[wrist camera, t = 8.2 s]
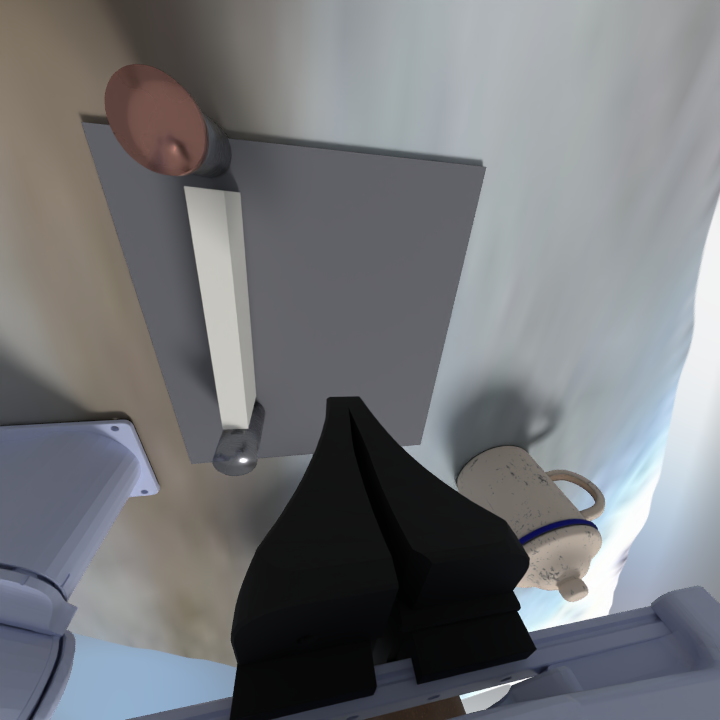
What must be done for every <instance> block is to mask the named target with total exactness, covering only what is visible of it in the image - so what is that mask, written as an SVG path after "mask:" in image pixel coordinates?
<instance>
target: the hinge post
mask: <svg viewBox="0 0 720 720" xmlns="http://www.w3.org/2000/svg"><path fill="white" fill-rule="evenodd" d="M264 419H265V409H264V407H263V406H262V405H261V404H260V403H258V402H256V401H255V403H254V407H253V411H252V415H251V419H250V423H249V427H248V429H223V431H222V434H221V437H220V439H219V442H218V445H217V448H216V451H215V454H214V457H213V461H212V462H213V466H214V467H215V468H216V469H217V470H218V471H219V472H221V473H223V474H226V475H230V476H239V475H244V474H247V473H249V472H251V471H252V470H253V469H254V468H255V466H256V464H257V459H258V453H259V448H260V442H261V436H262V431H263V425H264Z"/></svg>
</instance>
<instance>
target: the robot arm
mask: <svg viewBox="0 0 720 720" xmlns="http://www.w3.org/2000/svg"><path fill="white" fill-rule="evenodd" d="M115 426H116V427H115ZM117 427H118V428H117ZM159 489H160V487H159V484H158V482H157V480H156V477H155V475H154V473H153V470H152V468H151V466H150V463H149V461H148V459H147V456H146V454H145V451H144V449H143V447H142V444H141V442H140V440H139V437H138V435H137V433H136V430H135V428H134V426H133V424H132V422H130V421H128V420H107V421H89V422H71V423H53V424H35V425H17V426H0V720H50V719H51V717H52V715H53V713H54V712H55V710H56V708H57V706H58V704H59V702H60V699H61V697H62V695H63V693H64V690H65V688H66V685H67V682H68V680H69V677H70V673H71V670H72V665H73V658H74V653H75V637H74V635H73V634H72V633H71V632H70V631H68V630H66V629H67V627H68V625H69V624H70V622H71V620H72V618H73V616H74V614H75V613H76V611H77V609H78V608H77V607H76V606H74V605H71V604H69V603H67V602H68V600H69V598H70V596H71V595H72V593H73V591H74V590H75V588H76V586H77V585H78V583H79V581H80V579H81V578H82V576H83V574H84V573H85V571H86V569H87V567H88V566H89V564H90V562H91V561H92V559H93V557H94V556H95V554H96V552H97V550H98V549H99V547H100V545H101V544H102V542H103V540H104V538H105V537H106V535H107V533H108V532H109V530H110V528H111V526H112V525H113V523H114V521H115V520H116V518H117V516H118V515H119V513H120V511H121V509H122V508H123V506H124V504H125V503H126V501H127V499H128V497H135V496H145V495H154V494H156V493H158V491H159ZM529 564H530V557H529V556H528V554H527V553H526V551H525V549H524V548H523V546H522V544H521V543H520V541H519V539H518V538H517V536H516V534H515V533H514V532H513V530H512V529H511V527H510V526H509V524H508V523H507V522H506V520H504V519H502V518H501V517H499V516H497V515H495V514H494V513H492V512H490V511H488V510H487V509H485V508H483V507H481V506H479V505H478V504H476V503H474V502H473V501H471V500H469V499H468V498H466V497H465V496H463V495H462V494H460V493H459V492H457V491H455V490H454V489H452V488H451V487H450V486H448V485H447V484H445V483H444V482H443V481H441V480H440V479H439V478H437V477H436V476H435V475H433V474H432V473H431V472H429V471H428V470H427V469H425V468H424V467H423V466H422V465H421V464H419V463H418V462H417V461H416V460H415V459H414V458H413V457H412V456H410V455H409V454H408V453H407V452H406V451H405V450H404V449H403V448H402V447H401V446H400V445H399V444H398V443H397V442H396V441H395V440H394V439H393V437H392V436H391V435H390V434H389V433H388V432H387V431H386V430H385V428H384V427H383V426H382V425H381V424H380V423H379V421H378V420H377V419H376V418H375V416H374V415H373V414H372V412H371V411H370V410H369V408H368V407H367V406H366V404H365V403H364V402H363V400H362V399H361V398H360V397H359V396H347V397H329V398H327V399H326V417H325V422H324V425H323V429H322V433H321V436H320V439H319V441H318V444H317V447H316V450H315V452H314V454H313V457H312V459H311V461H310V464H309V466H308V468H307V470H306V472H305V474H304V476H303V478H302V480H301V482H300V484H299V486H298V487H297V489H296V491H295V493H294V494H293V496H292V498H291V499H290V501H289V503H288V504H287V506H286V507H285V509H284V511H283V512H282V514H281V515H280V517H279V518H278V520H277V521H276V523H275V524H274V526H273V527H272V529H271V530H270V531H269V533H268V534H267V535H266V537H265V538H264V540H263V541H262V542H261V544H260V545H259V547H258V548H257V550H256V552H255V554H254V557H253V559H252V561H251V564H250V566H249V568H248V571H247V573H246V576H245V578H244V581H243V583H242V586H241V589H240V592H239V595H238V599H237V603H236V607H235V612H234V618H233V625H232V631H231V643H232V647H233V650H234V653H235V657H236V660H237V671H236V678H235V685H234V691H233V697H228V698H224V699H219V700H215V701H210V702H206V703H201V704H197V705H191V706H187V707H183V708H178V709H173V710H168V711H164V712H159V713H155V714H151V715H145V716H141V717H136V718H132V719H127V720H364V719H368V718H372V717H376V716H379V715H383V714H387V713H391V712H395V711H399V710H403V709H407V708H411V707H415V706H419V705H423V704H427V703H431V702H435V701H439V700H443V699H447V698H450V697H454V696H458V695H462V694H466V693H470V692H474V691H478V690H482V689H486V688H490V687H494V686H498V685H502V684H506V683H510V682H514V681H517V680H521V679H525V678H529V677H531V678H529V679H527V680H524V681H522V682H519V683H517V684H514V685H512V686H511V688H510V690H509V692H508V693H507V694H506V695H505V696H504V697H503V698H502V699H501V700H500V701H498V702H496V703H495V704H493V705H492V706H491V707H489V708H487V709H486V710H482V711H477V712H473V713H469V714H465V715H462V716H458V717H454V718H450V719H447V720H720V604H719V602H717V601H716V600H715V599H714V598H713V597H712V596H711V595H710V594H709V593H708V592H707V591H706V590H705V589H704V588H703V587H701V586H694V587H689V588H684V589H679V590H674V591H671V592H668V593H666V594H664V595H662V596H660V597H659V598H657V599H656V600H655V601H654V602H653V603H651V606H649V607H644V608H639V609H635V610H630V611H625V612H621V613H616V614H612V615H607V616H602V617H598V618H593V619H588V620H584V621H579V622H575V623H570V624H565V625H561V626H556V627H552V628H547V629H542V630H538V631H533V632H528V631H527V629H526V627H525V625H524V623H523V621H522V619H521V617H520V616H519V614H518V612H517V611H519V610H520V609H521V607H520V603H519V601H518V599H517V597H516V596H515V594H514V592H513V590H514V588H515V587H516V586H517V585H518V583H519V582H520V581H521V579H522V578H523V577H524V575H525V574H526V572H527V570H528V568H529ZM533 676H534V677H533Z"/></svg>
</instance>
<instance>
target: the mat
mask: <svg viewBox="0 0 720 720" xmlns="http://www.w3.org/2000/svg"><path fill="white" fill-rule="evenodd" d="M81 123H82V126H83V129H84V132H85V135H86V138H87V141H88V144H89V147H90V150H91V154H92V157H93V160H94V163H95V166H96V169H97V172H98V175H99V178H100V182H101V185H102V188H103V191H104V194H105V197H106V200H107V203H108V206H109V209H110V213H111V216H112V219H113V222H114V225H115V228H116V231H117V234H118V237H119V241H120V244H121V247H122V250H123V253H124V256H125V259H126V262H127V265H128V268H129V272H130V275H131V278H132V281H133V284H134V287H135V290H136V293H137V296H138V300H139V303H140V306H141V309H142V312H143V315H144V318H145V321H146V324H147V328H148V331H149V334H150V337H151V340H152V343H153V346H154V349H155V352H156V355H157V359H158V362H159V365H160V368H161V371H162V374H163V377H164V380H165V383H166V387H167V390H168V393H169V396H170V399H171V402H172V405H173V408H174V411H175V414H176V418H177V421H178V424H179V427H180V430H181V433H182V436H183V439H184V442H185V446H186V449H187V452H188V455H189V458H190V461H191V464H196V463H208V462H212V461H213V457H214V454H215V451H216V448H217V445H218V442H219V439H220V437H221V434H222V431H223V428H222V422H221V416H220V409H219V403H218V397H217V391H216V384H215V378H214V372H213V366H212V359H211V353H210V347H209V341H208V334H207V328H206V322H205V315H204V309H203V303H202V297H201V290H200V284H199V278H198V272H197V265H196V259H195V253H194V247H193V240H192V234H191V228H190V221H189V215H188V209H187V203H186V196H185V190H184V186H188V187H198V188H208V189H216V190H224V191H232V192H240V195H241V208H242V221H243V234H244V246H245V259H246V272H247V285H248V297H249V310H250V323H251V336H252V349H253V361H254V374H255V387H256V398H255V401H256V402H258V403H260V404H261V405H262V406H263V407H264V409H265V419H264V425H263V431H262V436H261V442H260V448H259V453H258V458H267V457H279V456H291V455H303V454H314V452H315V450H316V447H317V444H318V441H319V439H320V436H321V433H322V429H323V425H324V422H325V417H326V399H327V398H329V397H347V396H359V397H360V398H361V399H362V400H363V402H364V403H365V404H366V406H367V407H368V408H369V410H370V411H371V412H372V414H373V415H374V416H375V418H376V419H377V420H378V421H379V423H380V424H381V425H382V426H383V427H384V428H385V430H386V431H387V432H388V433H389V434H390V435H391V436H392V437H393V439H394V440H395V441H396V442H397V443H398V444H399V445H400V446H410V445H420V444H421V440H422V435H423V431H424V427H425V423H426V419H427V414H428V410H429V406H430V402H431V398H432V393H433V389H434V385H435V381H436V376H437V372H438V368H439V364H440V360H441V355H442V351H443V347H444V343H445V339H446V334H447V330H448V326H449V322H450V318H451V313H452V309H453V305H454V301H455V297H456V292H457V288H458V284H459V280H460V276H461V271H462V267H463V263H464V259H465V254H466V250H467V246H468V242H469V238H470V233H471V229H472V225H473V221H474V217H475V212H476V208H477V204H478V200H479V196H480V191H481V187H482V183H483V179H484V175H485V170H486V167H482V166H473V165H464V164H455V163H446V162H437V161H428V160H419V159H410V158H401V157H392V156H383V155H374V154H365V153H356V152H347V151H338V150H329V149H320V148H311V147H302V146H293V145H284V144H275V143H266V142H257V141H248V140H239V139H230V138H228V140H229V143H230V146H231V151H232V159H231V164H230V166H229V169H228V170H227V171H226V172H225V173H224V174H223V175H221V176H219V177H216V178H208V177H203V176H198V175H194V174H189V175H186V176H169V175H163V174H159V173H156V172H153V171H151V170H149V169H147V168H145V167H143V166H142V165H141V164H139V163H138V162H136V161H135V160H134V159H133V158H132V157H131V156H130V155H129V154H128V153H127V152H126V151H125V150H124V149H123V147H122V146H121V145H120V143H119V142H118V141H117V139H116V137H115V135H114V134H113V132H112V129H111V127H110V125H103V124H94V123H85V122H81Z"/></svg>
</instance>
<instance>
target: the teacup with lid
mask: <svg viewBox="0 0 720 720" xmlns="http://www.w3.org/2000/svg"><path fill="white" fill-rule="evenodd" d="M557 480H565V481H569V482H572V483H574V484H577V485H579V486H580V487H582V488H583V489H585V490H586V491H587V492H588V493H589V494H590V495H591V496H592V497H593V498H594V500H595V504H594V505H593V506H592V507H590V508H588V509H585V510H582V511H578V509H577V508H576V507H575V506H574V505H573V504H572V503H571V501H570V500H569V499H568V498H567V497H566V496H565V495H564V493H563V492H562V491H561V490H560V489H559V488H558V487H557V486H556V484H555V483H554V482H553V481H557ZM457 487H458V490H459V493H460V494H462V495H463V496H465V497H466V498H468V499H469V500H471V501H473V502H474V503H476V504H478V505H479V506H481V507H483V508H485V509H487V510H488V511H490V512H492V513H494V514H495V515H497V516H499V517H501V518H502V519H504V520H506V522H507V523H508V524H509V526H510V527H511V529H512V530H513V532H514V533H515V534H516V536H517V538H518V539H519V541H520V543H521V544H522V546H523V548H524V549H525V551H526V553H527V554H528V556H529V557H530V564H529V568H528V570H527V572H526V574H525V575H524V577H523V578H522V579H521V581H520V582H519V583H518V585H517V586H516V587H521V588H528V587H537V588H540V589H543V590H559V592H560V594H561V595H562V597H563V598H564V599H565V600H567V601H569V602H574V601H578V600H580V599H582V598H584V597H585V596H586V595H587V594H588V588H587V586H586V585H585V583H584V582H583V581H582V580H581V579H582V578H583V577H584V576H585V575H586V573H587V571H588V569H589V566H590V562H591V559H592V558H593V557H594V556H595V555H596V554H597V553H598V551H599V550H600V548H601V544H602V538H601V535H600V533H599V531H598V528H597V527H596V525H595V524H594V523H592V522H591V520H594V519H596V518H598V517H599V516H600V515H601V514H602V513H603V511H604V507H605V498H604V496H603V494H602V492H601V491H600V490H599V489H598V487H597V486H596V485H594V484H593V483H592V482H591V481H589V480H588V479H586V478H585V477H583V476H581V475H579V474H577V473H574V472H571V471H567V470H553V471H549V472H544V471H543V470H542V468H541V467H540V466H539V465H538V464H537V463H536V462H535V461H534V459H533V458H532V457H531V456H530V455H529V454H528V453H527V452H526V451H525V450H523V449H521V448H519V447H515V446H501V447H496V448H492V449H490V450H487V451H485V452H483V453H481V454H479V455H477V456H476V457H475V458H473V459H472V460H471V461H470V462H468V463H467V464H466V466H465V467H464V468H463V469H462V471H461V472H460V474H459V477H458V481H457Z"/></svg>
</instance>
